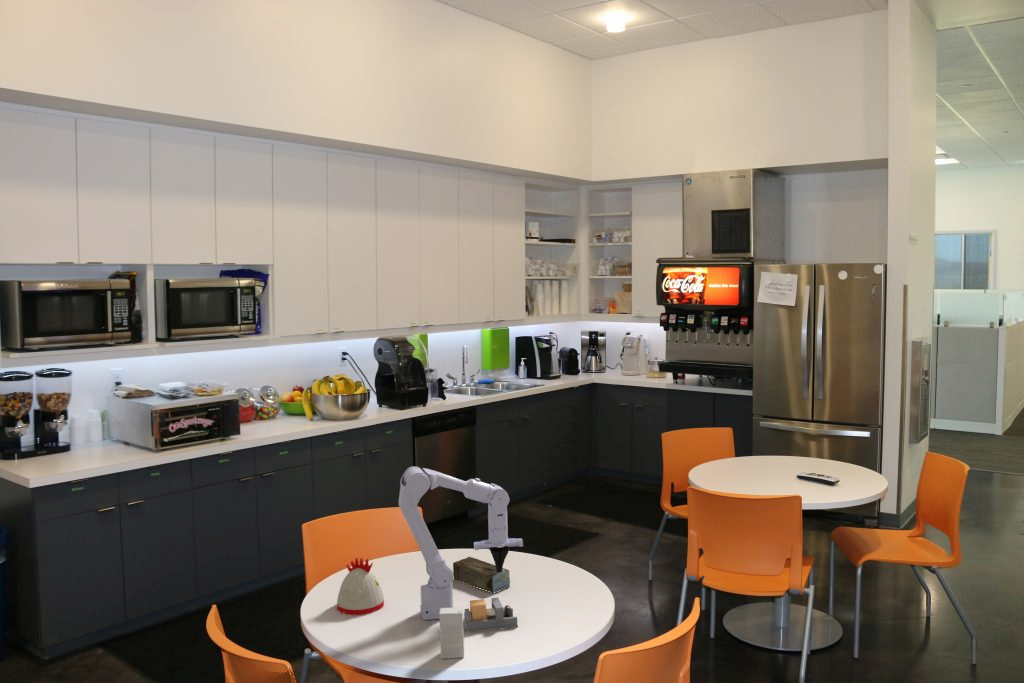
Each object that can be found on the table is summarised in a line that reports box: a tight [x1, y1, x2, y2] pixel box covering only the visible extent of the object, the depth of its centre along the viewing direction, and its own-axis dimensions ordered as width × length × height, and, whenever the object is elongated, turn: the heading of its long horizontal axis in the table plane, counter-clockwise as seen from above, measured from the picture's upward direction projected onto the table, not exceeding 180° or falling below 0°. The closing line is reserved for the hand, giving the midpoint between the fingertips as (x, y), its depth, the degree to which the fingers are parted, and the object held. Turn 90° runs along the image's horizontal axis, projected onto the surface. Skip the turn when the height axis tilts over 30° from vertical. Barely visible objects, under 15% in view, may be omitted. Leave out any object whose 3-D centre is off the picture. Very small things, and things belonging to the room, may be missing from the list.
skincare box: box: [438, 606, 465, 660], centre depth 220 cm, size 6×4×12 cm
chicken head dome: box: [336, 557, 385, 616], centre depth 254 cm, size 14×14×15 cm
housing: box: [463, 597, 519, 633], centre depth 239 cm, size 14×8×6 cm, turn 101°
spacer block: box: [469, 599, 487, 621], centre depth 238 cm, size 4×4×6 cm
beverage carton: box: [452, 556, 511, 594], centre depth 271 cm, size 8×19×7 cm, turn 45°
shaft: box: [486, 604, 511, 619], centre depth 239 cm, size 7×4×4 cm, turn 101°
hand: (499, 571), depth 252 cm, fingers closed
